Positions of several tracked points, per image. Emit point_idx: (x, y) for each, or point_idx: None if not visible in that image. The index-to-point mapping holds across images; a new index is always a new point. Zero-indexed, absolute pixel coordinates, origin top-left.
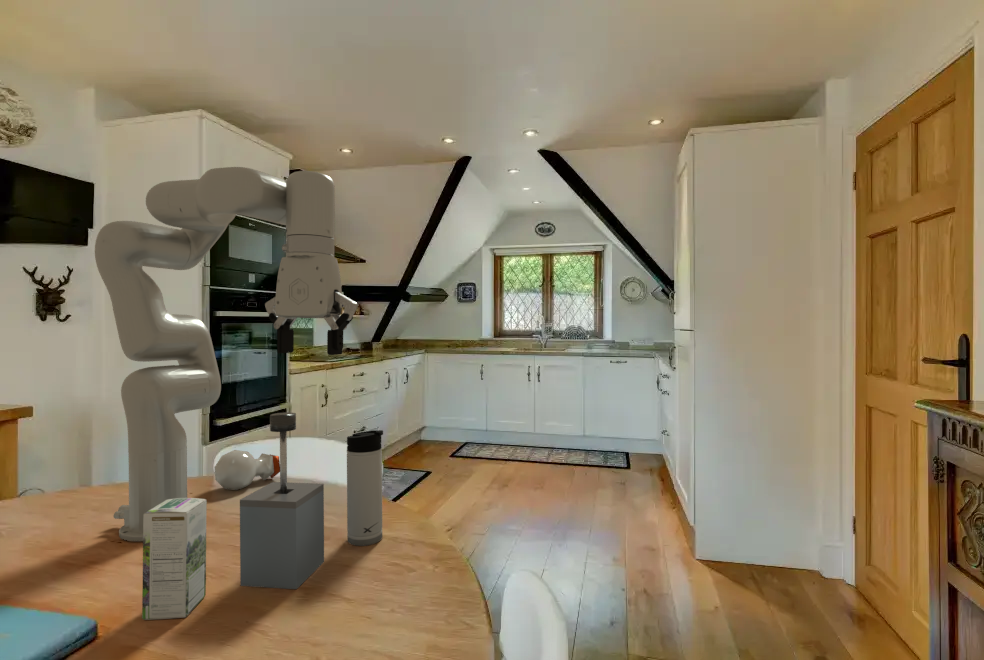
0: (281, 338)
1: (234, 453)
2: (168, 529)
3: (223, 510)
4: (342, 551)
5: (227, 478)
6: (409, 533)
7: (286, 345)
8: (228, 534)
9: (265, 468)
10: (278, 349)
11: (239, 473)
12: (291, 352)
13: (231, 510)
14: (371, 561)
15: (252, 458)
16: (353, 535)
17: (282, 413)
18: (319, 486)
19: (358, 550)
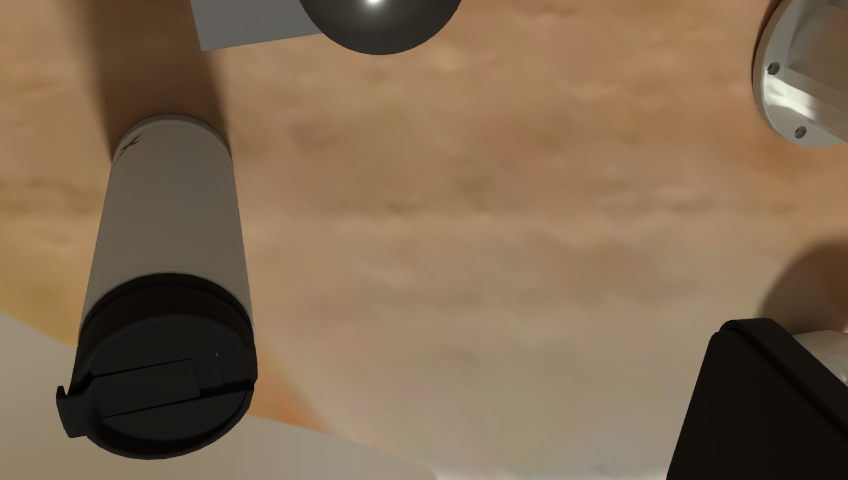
0: (839, 449)
1: None
2: None
3: (736, 216)
4: (189, 66)
5: (823, 341)
6: (54, 249)
7: (739, 453)
8: (621, 75)
9: None
10: (774, 333)
11: None
12: (674, 469)
13: (714, 223)
14: (39, 26)
15: None
16: (180, 125)
17: (415, 4)
18: (192, 10)
19: (140, 88)
